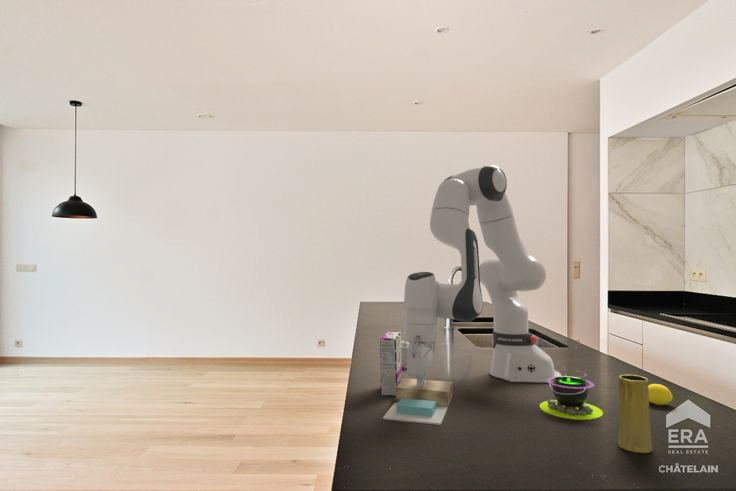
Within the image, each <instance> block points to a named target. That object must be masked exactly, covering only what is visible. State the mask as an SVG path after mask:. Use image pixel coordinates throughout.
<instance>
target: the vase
mask: <svg viewBox="0 0 736 491" xmlns="http://www.w3.org/2000/svg"><path fill="white" fill-rule="evenodd" d="M648 385H649V379H648V378H647V377H645V376H643V375H637V374H621V375H619V376H618V389H619V390H618V391H619V410H618V413H619V414H618V417H619V418H618V419H619V420H618V440H617V445H618V446H619V448H620V449H623V450H625V451H627V452H630V453H635V454H651V452H652V451H653V446H652V435H651V434H652V433H651V432H652V431H651V419H650V418H651V417H650V401H649V390H648Z"/></svg>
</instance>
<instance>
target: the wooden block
mask: <svg viewBox="0 0 736 491" xmlns="http://www.w3.org/2000/svg"><path fill="white" fill-rule="evenodd" d="M453 382H454V381H445V380H433V379H426V383H425V384H424V386H423V387H419V386H417V378H406V377H403V378H402V381H401V382H400V384H399V385H398V386H397V387H396V396H395V403H399V401H400V400H401V399H402V398H405V399H416V400H428V401H436V406H438V407H447V408H449V406H450V404H451V402H452V399H453V397H454V396H453V395H454V393H453V388H454V387H453V386H454V385H453Z"/></svg>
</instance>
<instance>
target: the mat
mask: <svg viewBox="0 0 736 491" xmlns="http://www.w3.org/2000/svg"><path fill="white" fill-rule="evenodd" d="M397 404H398V403H397V402H394V403H393V404H392V406H391V407H389V409H388V410H387V412H386V413H385V415H384V416H383V417H382V420H390V421H395V422H397V421H399V422H404V423H405V422H407V423H418V424H424V425H425V424H427V425H437V426H442V423H443V421H444V418H445V416H446V413H447V411H448V407H441V406H436V411H435V413H434V415H433V417H428V416H418V415H408V414H398V413H396V405H397Z"/></svg>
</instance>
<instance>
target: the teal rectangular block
mask: <svg viewBox="0 0 736 491" xmlns="http://www.w3.org/2000/svg"><path fill="white" fill-rule="evenodd" d="M435 411H436V401H428V400H416V399H405V398H402V399H401V400H400V401H399V403H398V404H397V405H396V413H398V414H408V415H418V416H428V417H433V415H434V413H435Z"/></svg>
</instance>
